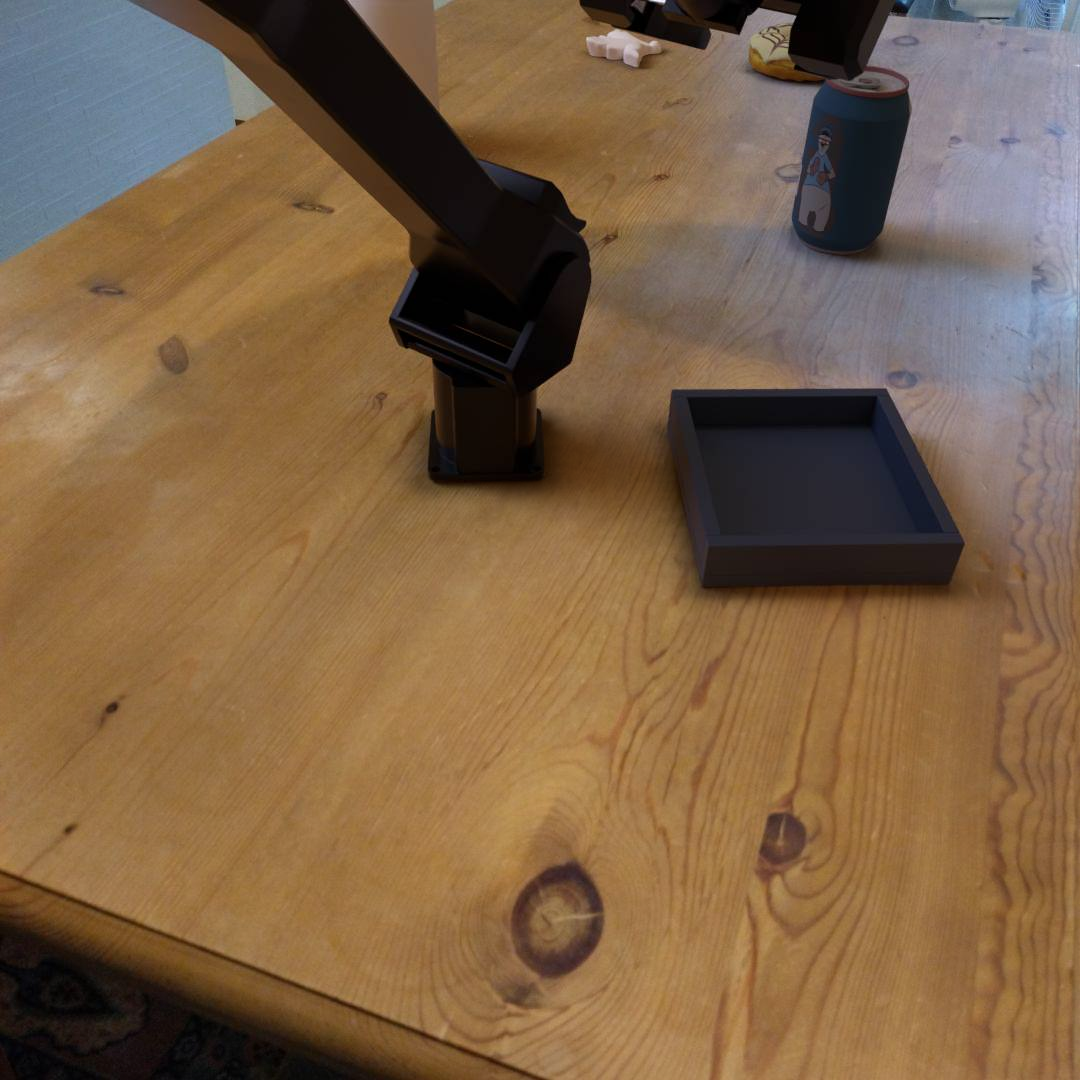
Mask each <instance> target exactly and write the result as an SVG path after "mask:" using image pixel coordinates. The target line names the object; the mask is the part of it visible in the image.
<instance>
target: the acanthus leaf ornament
mask: <svg viewBox="0 0 1080 1080" xmlns="http://www.w3.org/2000/svg"><path fill="white" fill-rule="evenodd" d="M585 40H586V46H587V49H588V51H589V55H590V56H592V57H596V58H606V59H608V60H611V61H618V60H623V63H624V64H626V65H628V66H630V67H634V68H640V63H641V62H642V60H643V57H645V56H648V55H658V54H661V53H662V47H661V43H660V42H659V41H657V40H652V41H650V42H646V41H643V40H641V39H639V38H637V37H635V36H634V35H632V34H631V33H630V32H629V31H626V30H622V29H617V28H615V29H614V30H612V31H609V32H608V33H607V35H602V34H601V35H598V36H596V35H595V36H587V37H586V38H585Z"/></svg>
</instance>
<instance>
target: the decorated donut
mask: <svg viewBox="0 0 1080 1080" xmlns="http://www.w3.org/2000/svg"><path fill="white" fill-rule="evenodd" d="M792 25H793V22H783V23H778V24H774V25H769V26H767V27H764V28H763V29H761V30H759V31H758V32H756V33H755V34H753V35H752V37H751V38H750V39H749V48H748V61H749V65H750V67H751V69H752V70H753V71H756V72H758V73H761V74H764V75H766V76H769V77H774V78H777V79H779V80H792V81H795V82H803V81H807V82H808V81H809V82H810V81H811V82H812V81H815V82H817V81H826V79H824V78H820V77H816V76H813V75H809V74H806V73H802V72H798V71H795V70H794V66H795V63H793V62H792V61H791V59H790V57H789V55H788V46H789V38H790V30H791V27H792Z"/></svg>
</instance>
